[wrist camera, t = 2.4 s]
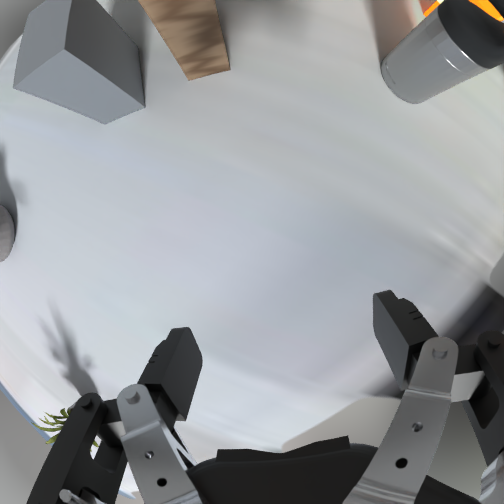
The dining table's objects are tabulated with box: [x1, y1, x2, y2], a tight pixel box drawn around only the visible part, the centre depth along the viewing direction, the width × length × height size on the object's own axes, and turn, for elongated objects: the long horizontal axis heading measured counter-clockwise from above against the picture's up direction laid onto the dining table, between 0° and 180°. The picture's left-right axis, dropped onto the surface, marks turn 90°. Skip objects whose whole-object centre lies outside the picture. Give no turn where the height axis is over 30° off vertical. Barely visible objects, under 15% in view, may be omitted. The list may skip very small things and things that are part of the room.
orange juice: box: [424, 0, 504, 21], centre depth 17 cm, size 8×9×20 cm
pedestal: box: [13, 0, 145, 124], centre depth 22 cm, size 7×12×20 cm, turn 13°
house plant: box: [31, 403, 99, 451], centre depth 35 cm, size 14×14×16 cm
